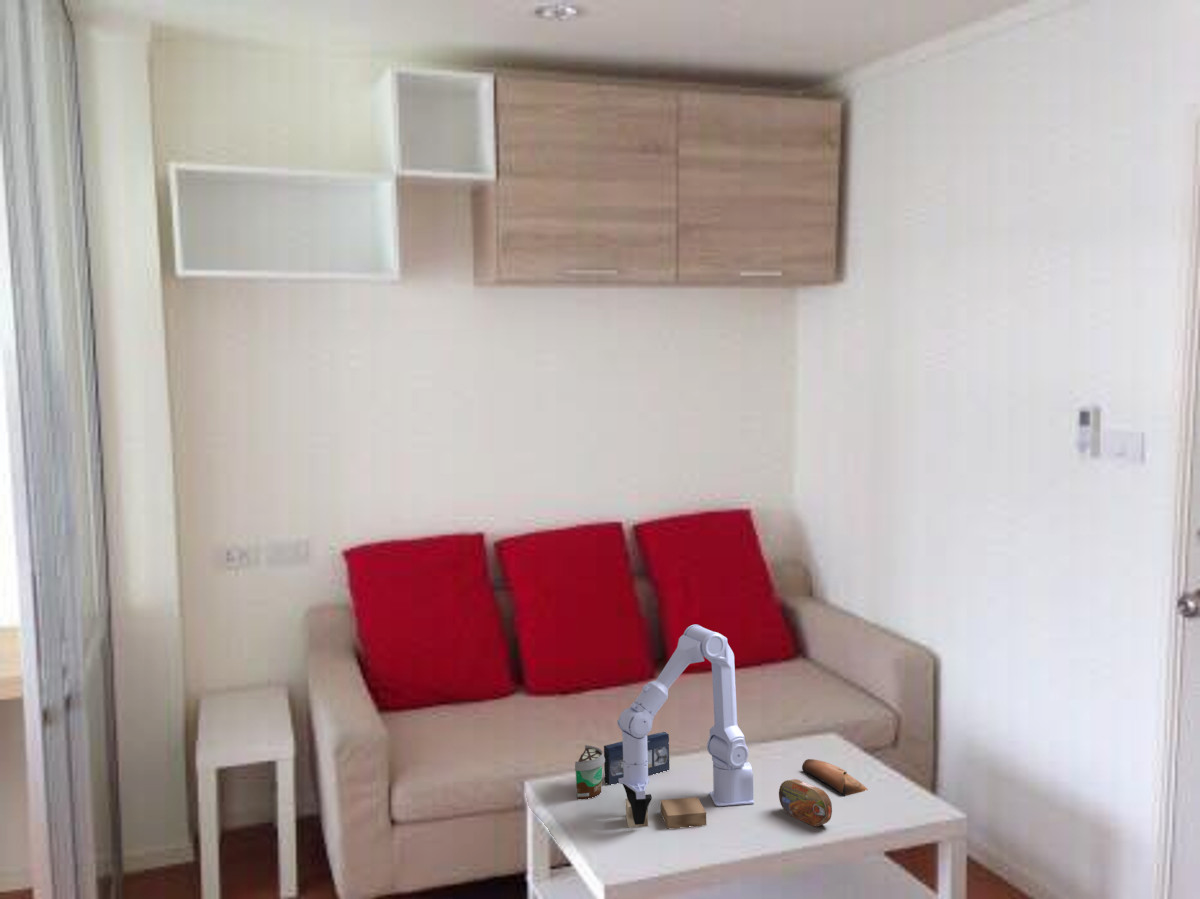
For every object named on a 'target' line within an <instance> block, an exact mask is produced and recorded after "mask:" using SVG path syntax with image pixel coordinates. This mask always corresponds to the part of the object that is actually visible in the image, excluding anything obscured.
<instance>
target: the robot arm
mask: <svg viewBox="0 0 1200 899" xmlns="http://www.w3.org/2000/svg"><path fill="white" fill-rule="evenodd" d="M705 659H706V660H708V661H709V662H710V663H711V676H712V677H711V678H712V697H713V699H712V700H713V718H714V725H713V726H711V727H710V729H709V737H708V740H707V743H706V750H707V752H708V754H709V755H710V756H711V761H712V770H713V771H712V776H713V777H712V782H713V786H712V787H713V788H712V789H713V790H711V791H709V792H708V794H709V796H710V798H711V800H712V802H713V803H714V805H715V806H716V807H722V806H723V807H725V806H726V807H727V806H738V805H751V804H755V800H754V774H753V768H752V767H753V766H752V765H751V762H749V761H748V758H749V755H750V754H749V748H748V746H747V744H746V739H745V738H746V737H745V735H744V733H743V732H742V730H741V728H740V727H739V726H738V714H737V713H738V711H737V710H738V709H737V691H736V690H737V689H736V670H735V668H736V666H735V654H734V652H733V650H732V648H731V647H730V645H729V643H728V638H727V637H726V636H724V635H723V634H721V633H719V632H718V631H717V632H716V631H713V630H710V629H708V628H705V627H703V626H701V625H700V624H692V625H690V626H688V627H686V629H685V630H684V632H683V634H682V635H681V636H680V637H679V638H678V642H677V647H676V648H675V649H674V652H673V653H672V655H671V656H670V658H669V660H668V661H667V663H666V664H665V666H664V667H663V669H662V671H661V672H660V674H659V675H658V676H657V678H656V680H652V681H649V682H647V683H646V684H644V685H643V687H642V688H641V692H640V693H639V695H638V696H637V697H636V699H635V700H634V701H633V702H632V703H631V704H630V707H627V708H625V709H624V710H623V711H621V713H620V715H619V716H618V720H617V722H616V724H617V726H618V728H619V729H620V731H621V735H622V741H623V772H624V777H623V778H619V783H618V784H619V785H622V786H623V789H624V791H625V794H626V799H628V801H629V803H630V805H631V808H632V813H633V819H634V822H635V825H638V824H644V822H645V817H646V812H647V808H648V807H649V805H650V803H651V801H652V800H653V799H652V798H653V797H652V794H650V793H649V794H646V789H647V788H648V785H649V783H650V776H648V750H647V735H649V733H650V732H651V730H652V729H653V721H654V720H655V716H656V715H657V713H658V712H659V711H660V710H661V708H662V707H663V705H664V704H665V702H666V701H667V699H668V698H669V689H670V688H671V687H672V685H673V684H674V683H675V681H676V680H677V679H678V678H679V677H680V676H681V675H682V674H683V672H684V671H685V670H686V668H688V666H689V665H691V664H696V663H702V662H705Z"/></svg>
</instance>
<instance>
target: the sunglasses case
mask: <svg viewBox="0 0 1200 899" xmlns="http://www.w3.org/2000/svg"><path fill="white" fill-rule="evenodd" d="M801 766H802V767H801V770H802V771H803V772H805V773H807V774H808V775H812V776H813V777H814V778H815V777H816V778H817V779H818V780H820V781H822V782H823V783H825V784H826V785H828V786H830V787H831V788H833V789H834V790H836V791H837V792H839V793H840V794H842V795H843V796H844V797H847V796H852V795H855V794H859V793H863V792H865V790H866V791H869V789H868V788H867V787H866V786H865V785H864V784H863V783H861V782H860V781H858V779H856V778H854V777H853V776H852V775H850V774H848V772H847V771H846V770H844V769H843V768H841V767H839V766H836V765H833V764H831V763H829V762H826V761H822V760H820V759H819V760H818V759H814V758H807V759H805V760H804V762H803V764H802V765H801Z"/></svg>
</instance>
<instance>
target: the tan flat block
mask: <svg viewBox="0 0 1200 899" xmlns="http://www.w3.org/2000/svg"><path fill="white" fill-rule="evenodd" d="M660 814H661V816H662V818H664V819H663V821H664V820H665V821H664V823H665V825H666V827H668V828H667V829H668V830H670V829H669V828H674V829H681V828H680V827H686V828H690V827H689V826H698V827H703V826H702V825H706V826H707V811H706V810H705V808H704V806H703V805H702V802H701V801H700V799H699V797H698V796H694V797H681V798H680V797H679V798H669V799H660Z"/></svg>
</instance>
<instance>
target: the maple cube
mask: <svg viewBox="0 0 1200 899" xmlns="http://www.w3.org/2000/svg"><path fill="white" fill-rule="evenodd" d="M648 812H649V811H648V808H647V812H646V817H645V822H644V824H638V825H635V822H634V819H633V813H632V808H631V805H630V803H629V801H628V799H627V798H626V799H625V821H626V820H627V821H626V824H627V823H628V824H627V827H628V826H629V827H631V828H637V827H636V826H644V827H649V814H648ZM629 827H628V828H629Z"/></svg>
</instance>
